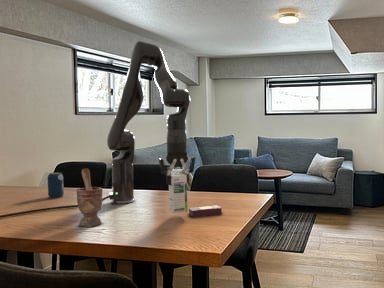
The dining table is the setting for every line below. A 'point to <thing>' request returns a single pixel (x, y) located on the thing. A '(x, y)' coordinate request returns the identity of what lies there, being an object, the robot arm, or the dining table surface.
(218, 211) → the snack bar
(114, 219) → the dining table surface
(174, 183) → the syrup box
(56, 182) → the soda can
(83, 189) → the mortar and pestle
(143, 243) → the dining table surface
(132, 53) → the robot arm
